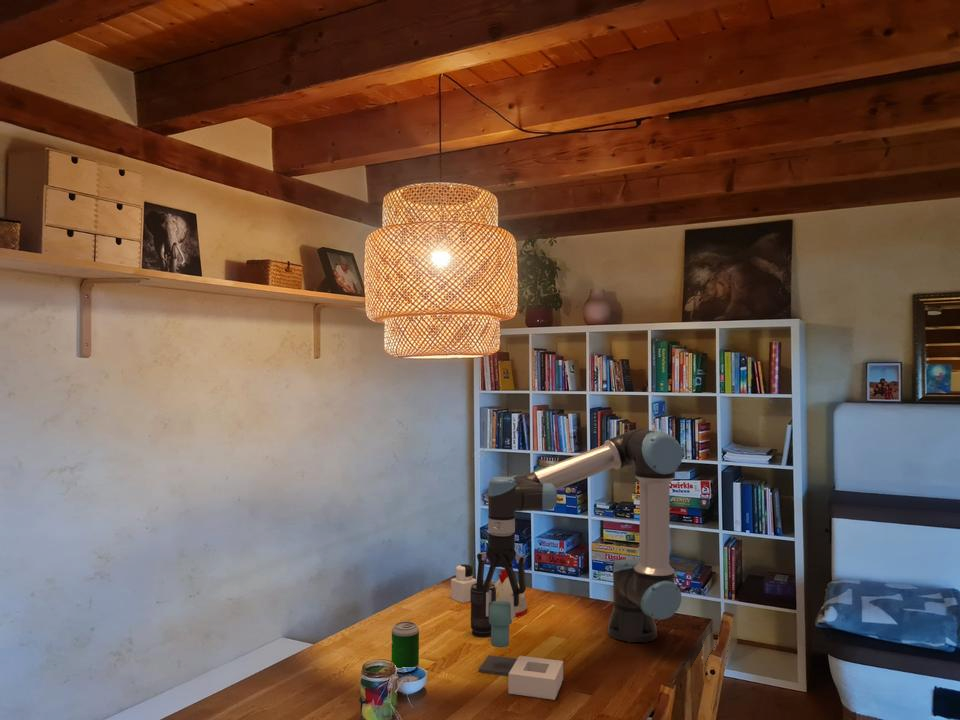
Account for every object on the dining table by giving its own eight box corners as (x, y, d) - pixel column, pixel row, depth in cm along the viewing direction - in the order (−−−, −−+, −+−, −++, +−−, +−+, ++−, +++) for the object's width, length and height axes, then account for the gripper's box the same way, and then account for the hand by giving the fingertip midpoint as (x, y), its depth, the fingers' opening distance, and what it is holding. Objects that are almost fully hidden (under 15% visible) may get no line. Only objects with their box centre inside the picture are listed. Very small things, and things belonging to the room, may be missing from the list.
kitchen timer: (478, 612, 241) (478, 568, 241) (501, 602, 252) (502, 560, 252) (512, 621, 232) (512, 575, 232) (534, 610, 243) (534, 566, 243)
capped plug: (514, 642, 198) (514, 602, 198) (508, 649, 191) (508, 608, 192) (492, 639, 199) (493, 599, 200) (485, 646, 193) (486, 605, 194)
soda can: (424, 668, 195) (424, 624, 195) (404, 677, 189) (404, 632, 189) (406, 661, 200) (406, 618, 200) (385, 669, 194) (386, 625, 194)
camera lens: (496, 629, 225) (496, 581, 225) (494, 638, 217) (495, 589, 217) (471, 628, 226) (471, 581, 226) (468, 637, 218) (469, 588, 218)
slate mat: (522, 662, 199) (522, 659, 199) (514, 676, 190) (514, 673, 190) (488, 657, 202) (488, 655, 202) (478, 672, 193) (478, 669, 193)
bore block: (563, 679, 188) (563, 661, 188) (554, 699, 176) (554, 679, 176) (519, 674, 191) (519, 655, 191) (508, 693, 180) (508, 673, 180)
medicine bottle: (465, 594, 260) (465, 562, 260) (478, 599, 254) (478, 566, 255) (450, 598, 255) (450, 565, 255) (462, 603, 250) (462, 569, 250)
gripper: (464, 533, 196) (463, 616, 195) (532, 538, 190) (531, 624, 190) (472, 527, 203) (471, 608, 203) (538, 532, 197) (537, 615, 197)
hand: (500, 616), depth 196 cm, fingers closed on capped plug, 6 cm apart
